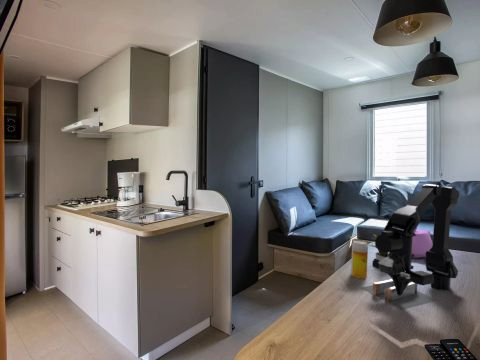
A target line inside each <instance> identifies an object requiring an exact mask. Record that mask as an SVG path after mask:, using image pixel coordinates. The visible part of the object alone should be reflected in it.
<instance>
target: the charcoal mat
mask: <svg viewBox="0 0 480 360" xmlns="http://www.w3.org/2000/svg"><path fill="white" fill-rule="evenodd" d="M360 289H361V290H363V291H365V292H367V293H369V294H371V295H373V284H371V285H368V286H363V287H360ZM373 296H374V297H377V298H378V299H380V300H382V301H384V302H385V303H388V304H389V305H391V306H393V307H396V308H397V309H399V310H401V311H404V310H406V309H411V308H413V307H417V306H421V305H422V306H423V305H425V304H429V303H432V302H437V301H438V299H436V298H434V297H431V296H430V295H428V294H426V293H422V292H420V291H418V290H417V292H415V294H414V295H410V296H407V297H403V298H400V299H396V300H392V301H390V302H387V301H385V293H384V294H380V295H376V296H375V295H373Z"/></svg>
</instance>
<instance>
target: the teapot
mask: <svg viewBox="0 0 480 360" xmlns="http://www.w3.org/2000/svg"><path fill="white" fill-rule="evenodd" d="M392 228H394V227H392ZM396 229H397V228H396ZM401 230H402V229H401ZM413 232H414V233H415V234H416V236H413V238H412V253H413V254H414V257H412V258H411V259H417V258H426V252H427V251H429V250H430V249H431V248H432V245H433V239H432V238H431V231H430V230H427V229H426V230H423V229H422V230H421V229H418V227H417V228H416V229H415V230H414V231H413Z"/></svg>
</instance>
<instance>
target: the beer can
mask: <svg viewBox="0 0 480 360" xmlns="http://www.w3.org/2000/svg"><path fill="white" fill-rule="evenodd" d="M351 244H352V245H351V262H350V263H351V265H350V267H351V268H350V275H351V276H352V277H355V278H358V279H366V278H367V277H368V274H367V273H368V254H369V253H368V252H369V251H368V250H369V246H368V243H367V242H366V241H362V240H353V241H352V243H351Z"/></svg>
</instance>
